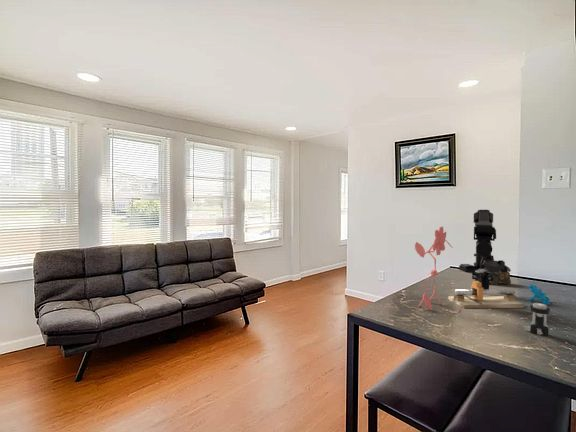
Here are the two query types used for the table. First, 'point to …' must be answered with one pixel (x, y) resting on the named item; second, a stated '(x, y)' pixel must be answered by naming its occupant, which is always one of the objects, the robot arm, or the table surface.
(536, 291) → the gear
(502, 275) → the brown carved figurine
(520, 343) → the table surface
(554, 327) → the table surface
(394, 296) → the table surface
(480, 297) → the collar
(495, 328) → the table surface
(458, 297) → the tube stand
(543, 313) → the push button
